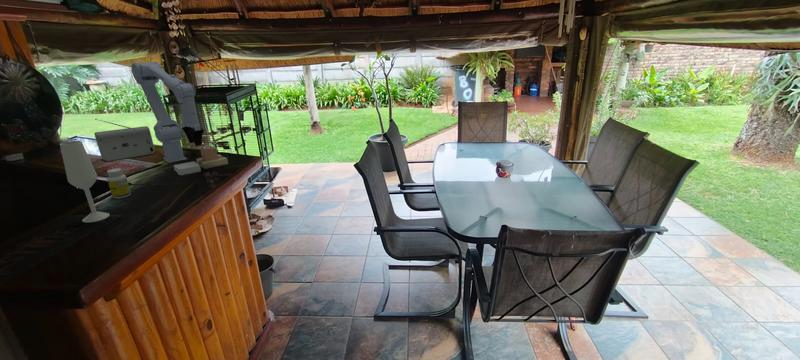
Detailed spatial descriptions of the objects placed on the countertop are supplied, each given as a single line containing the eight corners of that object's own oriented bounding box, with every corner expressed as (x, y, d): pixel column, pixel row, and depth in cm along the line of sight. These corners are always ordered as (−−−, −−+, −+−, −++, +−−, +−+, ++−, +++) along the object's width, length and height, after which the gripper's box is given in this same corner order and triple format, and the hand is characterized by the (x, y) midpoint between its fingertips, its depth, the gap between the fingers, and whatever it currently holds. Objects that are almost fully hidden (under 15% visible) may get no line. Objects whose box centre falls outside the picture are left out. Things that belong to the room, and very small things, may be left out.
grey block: (175, 171, 151) (173, 165, 150) (195, 167, 157) (194, 161, 156) (180, 176, 146) (178, 169, 145) (201, 172, 151) (199, 165, 150)
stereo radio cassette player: (154, 150, 180) (144, 111, 173) (157, 154, 175) (147, 113, 168) (102, 159, 167) (88, 117, 160) (103, 163, 161) (90, 119, 154)
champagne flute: (87, 224, 106) (60, 147, 97) (78, 219, 109) (51, 143, 101) (113, 215, 111) (89, 141, 103) (104, 211, 115) (80, 138, 106)
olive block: (197, 165, 161) (195, 158, 160) (220, 160, 167) (218, 154, 166) (205, 170, 154) (203, 163, 153) (228, 164, 161) (227, 158, 160)
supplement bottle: (109, 197, 125) (101, 171, 122) (126, 192, 130) (118, 166, 126) (117, 200, 123) (109, 173, 119) (134, 194, 127) (127, 169, 124)
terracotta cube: (202, 159, 159) (200, 148, 157) (213, 156, 163) (211, 146, 161) (206, 161, 156) (204, 150, 154) (218, 158, 159) (216, 148, 158)
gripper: (173, 112, 152) (180, 142, 157) (184, 116, 143) (191, 149, 148) (191, 110, 157) (197, 139, 162) (202, 114, 148) (208, 145, 152)
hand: (195, 144), depth 155 cm, fingers open, 7 cm apart
